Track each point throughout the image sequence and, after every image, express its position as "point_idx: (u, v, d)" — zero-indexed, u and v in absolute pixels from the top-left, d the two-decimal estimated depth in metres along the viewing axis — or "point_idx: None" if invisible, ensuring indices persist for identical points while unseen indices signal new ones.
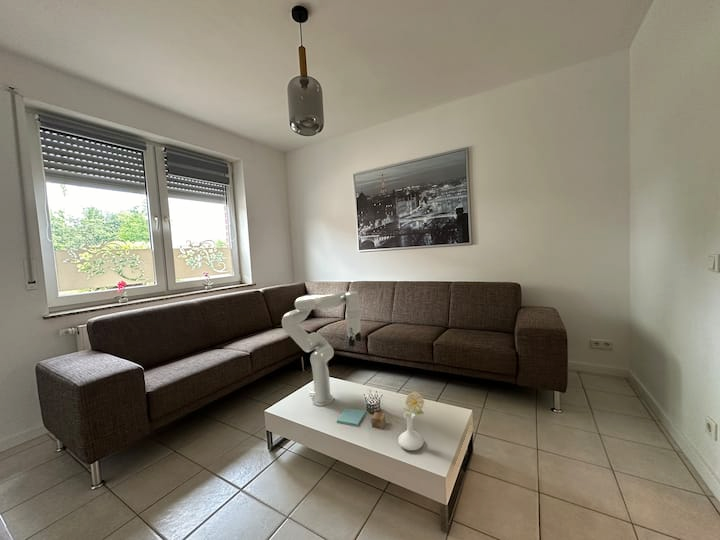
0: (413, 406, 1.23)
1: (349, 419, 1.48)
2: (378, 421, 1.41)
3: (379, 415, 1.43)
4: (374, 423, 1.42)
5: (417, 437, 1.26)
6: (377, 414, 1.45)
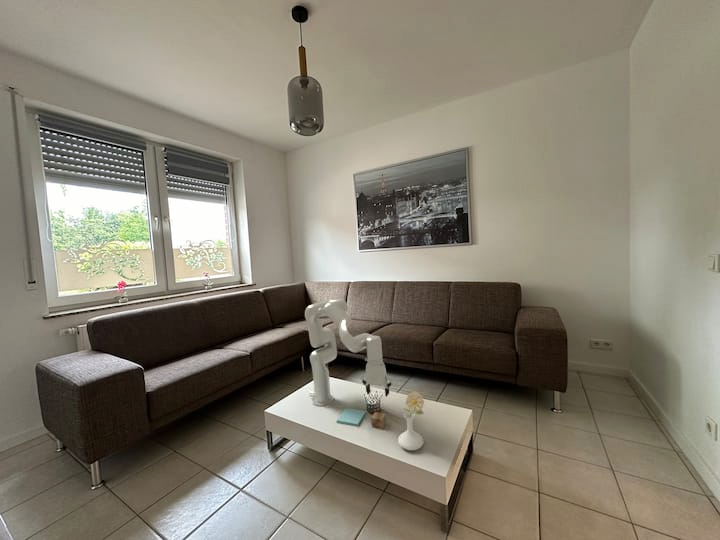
0: (413, 406, 1.23)
1: (349, 419, 1.48)
2: (378, 421, 1.41)
3: (379, 415, 1.43)
4: (374, 423, 1.42)
5: (417, 437, 1.26)
6: (377, 414, 1.45)
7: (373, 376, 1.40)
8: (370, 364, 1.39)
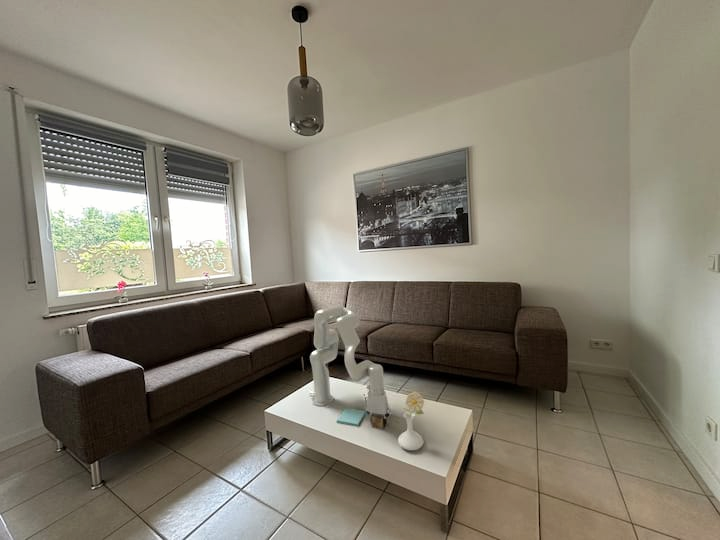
0: (413, 406, 1.23)
1: (349, 419, 1.48)
2: (378, 421, 1.41)
3: (379, 415, 1.43)
4: (374, 423, 1.42)
5: (417, 437, 1.26)
6: (377, 414, 1.45)
7: (374, 405, 1.41)
8: (372, 393, 1.40)
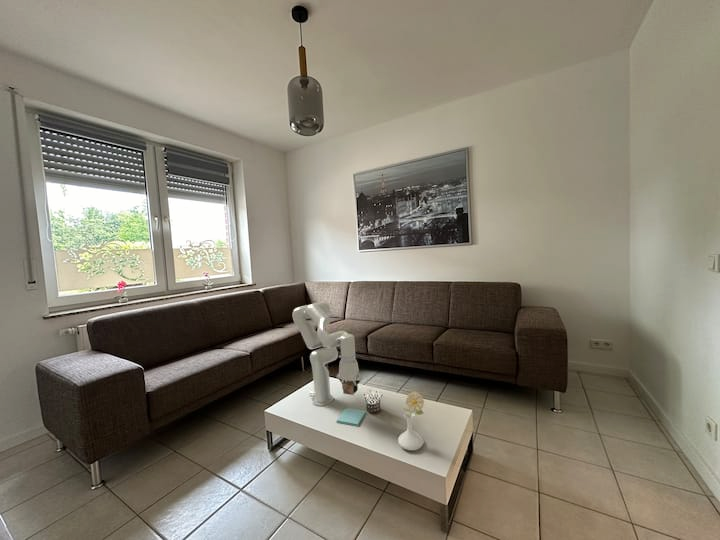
0: (413, 406, 1.23)
1: (349, 419, 1.48)
2: (349, 387, 1.47)
3: (350, 382, 1.50)
4: (345, 389, 1.48)
5: (417, 437, 1.26)
6: (349, 381, 1.51)
7: (346, 372, 1.47)
8: (343, 361, 1.46)
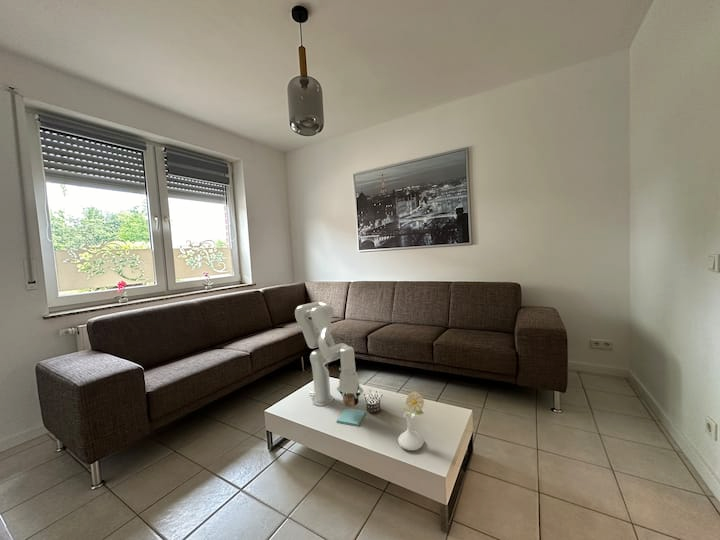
0: (413, 406, 1.23)
1: (349, 419, 1.48)
2: (349, 400, 1.48)
3: (351, 395, 1.50)
4: (346, 402, 1.49)
5: (417, 437, 1.26)
6: (349, 394, 1.51)
7: (346, 385, 1.48)
8: (343, 373, 1.47)
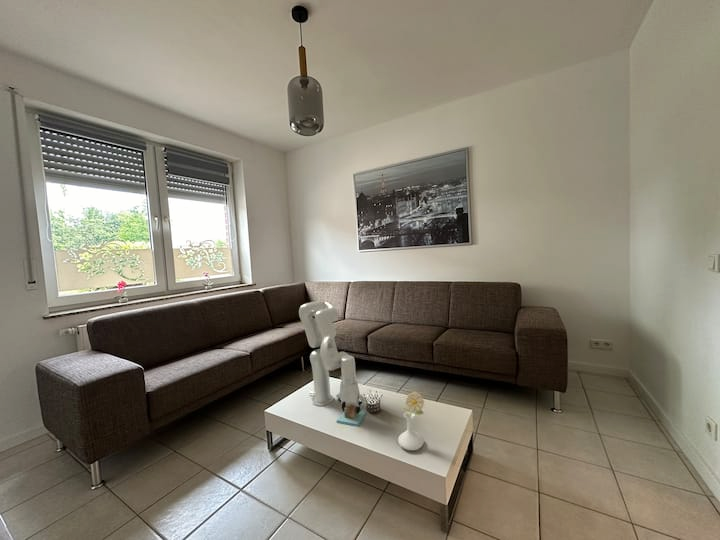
0: (413, 406, 1.23)
1: (349, 419, 1.48)
2: (350, 412, 1.48)
3: (352, 406, 1.51)
4: (346, 413, 1.49)
5: (417, 437, 1.26)
6: (350, 405, 1.52)
7: (346, 394, 1.48)
8: (344, 383, 1.47)
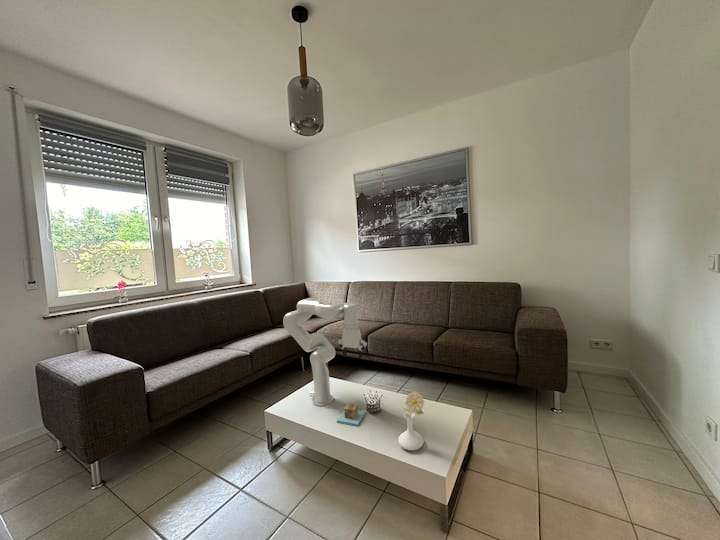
0: (413, 406, 1.23)
1: (349, 419, 1.48)
2: (350, 412, 1.48)
3: (352, 406, 1.51)
4: (346, 413, 1.49)
5: (417, 437, 1.26)
6: (350, 405, 1.52)
7: (349, 339, 1.54)
8: (346, 328, 1.53)
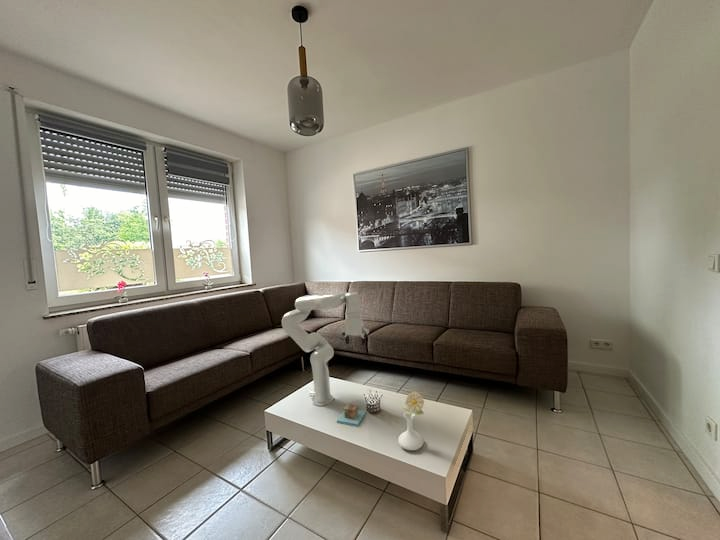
0: (413, 406, 1.23)
1: (349, 419, 1.48)
2: (350, 412, 1.48)
3: (352, 406, 1.51)
4: (346, 413, 1.49)
5: (417, 437, 1.26)
6: (350, 405, 1.52)
7: (351, 327, 1.57)
8: (349, 316, 1.56)
